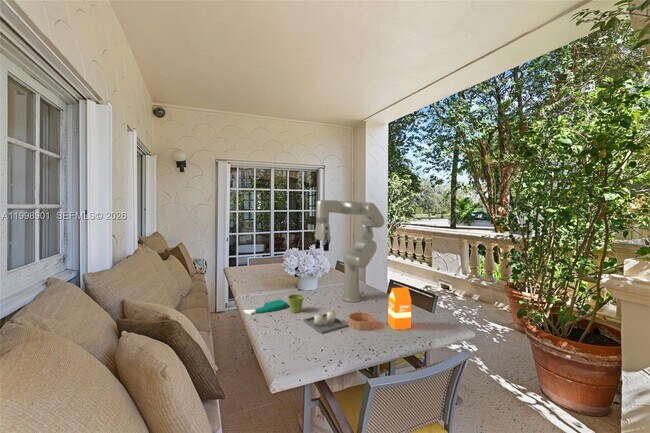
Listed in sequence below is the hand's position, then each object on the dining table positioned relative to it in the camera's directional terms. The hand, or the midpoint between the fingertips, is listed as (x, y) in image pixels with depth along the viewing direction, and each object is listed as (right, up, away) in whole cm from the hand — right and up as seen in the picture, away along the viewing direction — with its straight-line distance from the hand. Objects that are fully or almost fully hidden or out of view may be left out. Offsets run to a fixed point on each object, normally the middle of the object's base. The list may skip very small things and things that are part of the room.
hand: (321, 249), depth 172 cm
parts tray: (+2, -36, -23) cm, 43 cm away
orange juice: (+40, -37, -24) cm, 59 cm away
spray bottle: (-32, -35, -2) cm, 48 cm away
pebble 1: (-1, -35, -25) cm, 43 cm away
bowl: (+20, -36, -24) cm, 48 cm away
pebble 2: (+5, -35, -21) cm, 41 cm away
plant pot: (-15, -35, -5) cm, 38 cm away
